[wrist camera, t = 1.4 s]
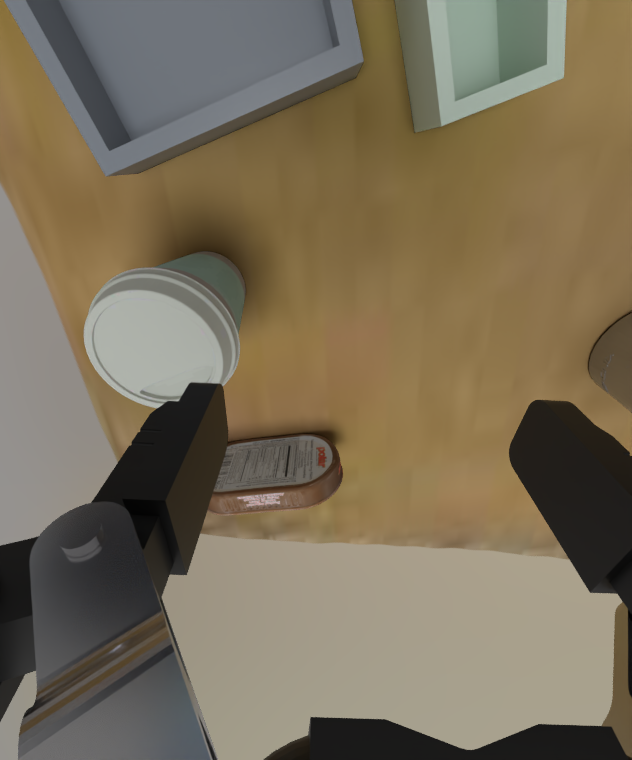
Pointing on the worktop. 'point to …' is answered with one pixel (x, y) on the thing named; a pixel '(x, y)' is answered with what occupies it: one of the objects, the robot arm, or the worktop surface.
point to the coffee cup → (167, 327)
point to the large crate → (184, 67)
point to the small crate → (477, 53)
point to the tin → (276, 475)
